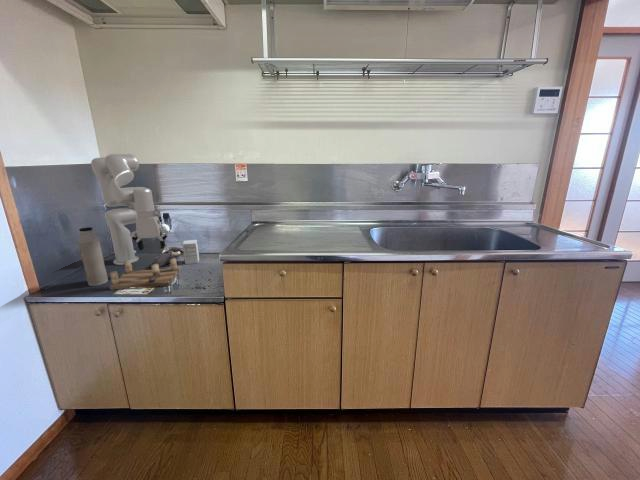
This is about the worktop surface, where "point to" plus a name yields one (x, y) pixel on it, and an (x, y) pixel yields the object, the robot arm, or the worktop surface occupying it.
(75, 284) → the worktop surface
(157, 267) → the swing leg
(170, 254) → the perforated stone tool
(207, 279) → the worktop surface
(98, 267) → the thermos bottle
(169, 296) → the worktop surface
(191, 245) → the supplement box
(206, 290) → the worktop surface
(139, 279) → the stool seat
